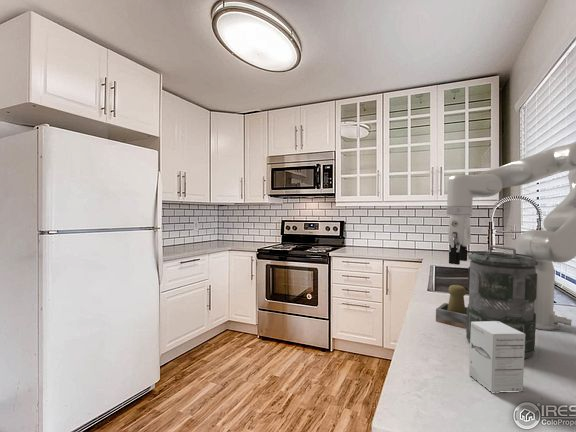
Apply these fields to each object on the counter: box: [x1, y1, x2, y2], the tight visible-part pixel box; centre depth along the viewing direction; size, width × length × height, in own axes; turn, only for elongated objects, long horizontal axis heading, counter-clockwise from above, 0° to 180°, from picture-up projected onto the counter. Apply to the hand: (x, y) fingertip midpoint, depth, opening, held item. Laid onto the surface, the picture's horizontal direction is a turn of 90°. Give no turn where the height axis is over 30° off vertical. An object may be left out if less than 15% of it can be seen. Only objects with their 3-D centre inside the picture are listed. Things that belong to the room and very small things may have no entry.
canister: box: [465, 244, 538, 359], centre depth 88 cm, size 16×16×28 cm
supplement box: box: [468, 321, 525, 393], centre depth 69 cm, size 7×7×13 cm
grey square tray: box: [435, 302, 468, 329], centre depth 108 cm, size 10×10×4 cm
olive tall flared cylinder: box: [447, 284, 467, 314], centre depth 108 cm, size 6×6×11 cm
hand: (458, 262), depth 108 cm, fingers open, 9 cm apart
